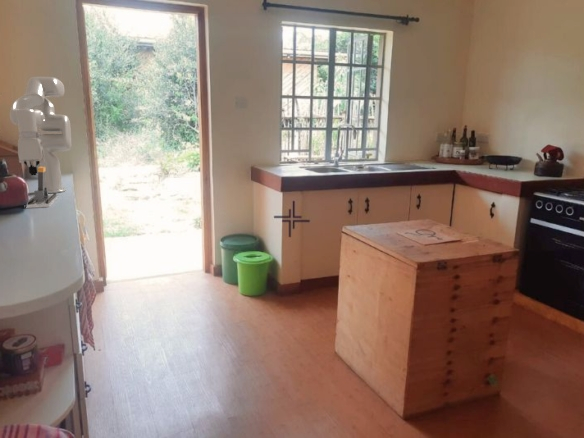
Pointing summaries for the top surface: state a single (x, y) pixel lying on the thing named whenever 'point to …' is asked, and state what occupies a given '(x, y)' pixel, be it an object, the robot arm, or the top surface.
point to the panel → (39, 204)
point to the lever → (41, 178)
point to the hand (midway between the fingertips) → (33, 175)
